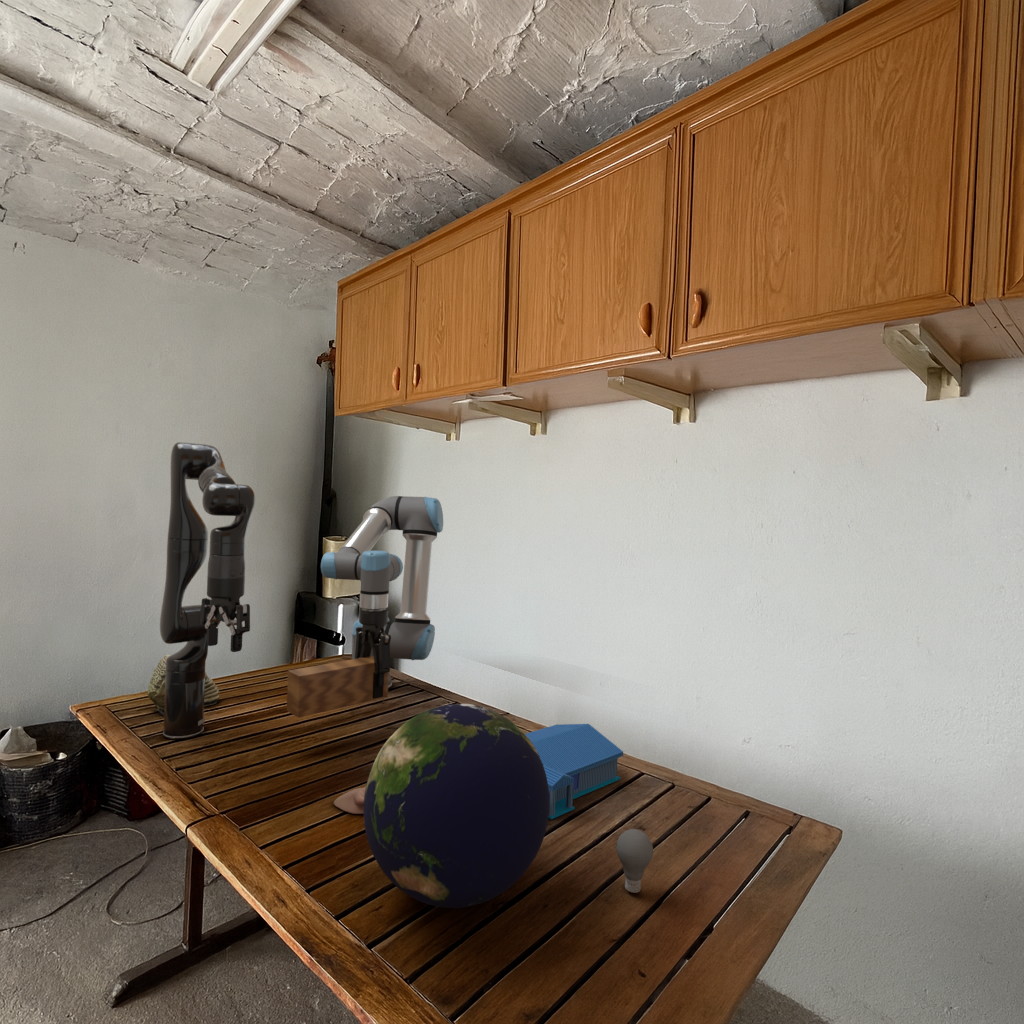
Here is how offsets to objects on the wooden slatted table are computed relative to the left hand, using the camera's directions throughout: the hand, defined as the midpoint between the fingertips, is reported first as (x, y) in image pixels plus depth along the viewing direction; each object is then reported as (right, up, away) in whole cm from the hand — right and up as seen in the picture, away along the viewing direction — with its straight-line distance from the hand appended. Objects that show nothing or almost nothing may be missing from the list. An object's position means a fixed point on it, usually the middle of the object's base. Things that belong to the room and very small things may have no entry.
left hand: (223, 648), depth 139 cm
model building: (+68, -32, +3) cm, 76 cm away
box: (+19, -20, +25) cm, 37 cm away
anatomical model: (+33, -31, -7) cm, 46 cm away
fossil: (-33, -27, +46) cm, 62 cm away
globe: (+54, -32, -36) cm, 72 cm away
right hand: (+25, -19, +31) cm, 44 cm away
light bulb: (+83, -33, -33) cm, 96 cm away
